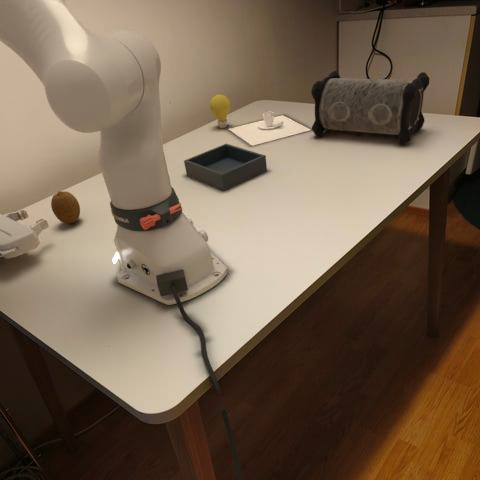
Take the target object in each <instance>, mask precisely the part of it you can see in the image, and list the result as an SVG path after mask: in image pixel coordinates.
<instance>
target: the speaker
mask: <svg viewBox="0 0 480 480" xmlns="http://www.w3.org/2000/svg"><path fill="white" fill-rule="evenodd" d="M429 85H430V77H429V75H428V74H427V73H426V72H424V71H421V72H420V73H419V74H418V75H417V77H416V78H415V79H387V78H384V79H382V78H349V77H348V78H343V77H342V78H341V76H340V74H339V70H333V71H332V72H330V73H329V74H328V76H326V77H324V78H323V79H322V80H317V81H316V82H314V84H313V85H312V87H311V93H310V94H311V96H312V98H313V100H314V122H313V124H312V126H311V131H312V132H313V134H314V135H315V137H317V138H320V137H322V136H323V135H324V133H325V131H327V130H334V131H340V132H342V131H344V132H345V131H346V132H356V133H358V132H359V133H367V134H368V133H370V134H381V135H393V136H397V139H398V141H399V145H405V144H408V143H409V142H410V141H411V140H412V138H411V137H412V136H413V134H414V133H415V132H418V131H420V130H421V129H422V128H423V126H424V124H425V117H424V114H423V112H422V109H423V103H424V92H425V91H426V89H427V88H428V87H429Z"/></svg>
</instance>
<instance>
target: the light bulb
mask: <svg viewBox="0 0 480 480" xmlns="http://www.w3.org/2000/svg"><path fill="white" fill-rule="evenodd" d="M209 108H210V111H211V113H212V114H213V115H214V117H215V118H216V119H217V121H216V122H217V125H218V126H219V129H225V128H227V126H228V125H227V124H228V119H227V116H228V115H229V114H230V113H229V112H230V109H231V102H230V99H229V98H228V97H227V96H226V95H224V94H216V95H214V96H213V97H212V98H211V100H210V102H209Z"/></svg>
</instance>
